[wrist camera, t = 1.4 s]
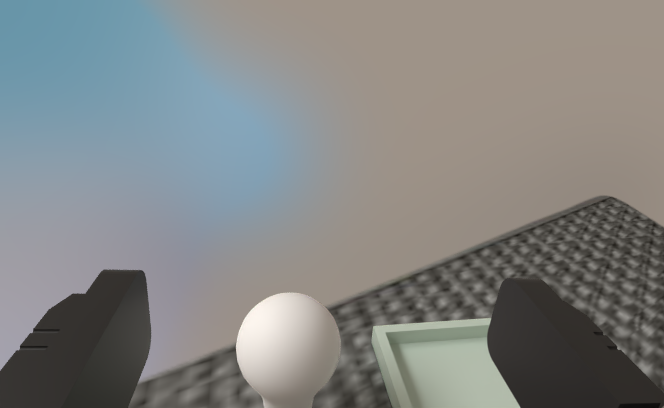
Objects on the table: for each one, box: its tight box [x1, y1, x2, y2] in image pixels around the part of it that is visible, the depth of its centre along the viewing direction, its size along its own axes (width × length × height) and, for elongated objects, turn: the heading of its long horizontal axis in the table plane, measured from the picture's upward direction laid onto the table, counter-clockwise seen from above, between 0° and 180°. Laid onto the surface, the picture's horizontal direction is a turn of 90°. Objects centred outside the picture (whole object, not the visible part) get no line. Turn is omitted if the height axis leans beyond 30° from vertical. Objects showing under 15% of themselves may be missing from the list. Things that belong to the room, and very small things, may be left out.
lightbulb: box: [236, 293, 341, 408], centre depth 27 cm, size 6×6×11 cm
